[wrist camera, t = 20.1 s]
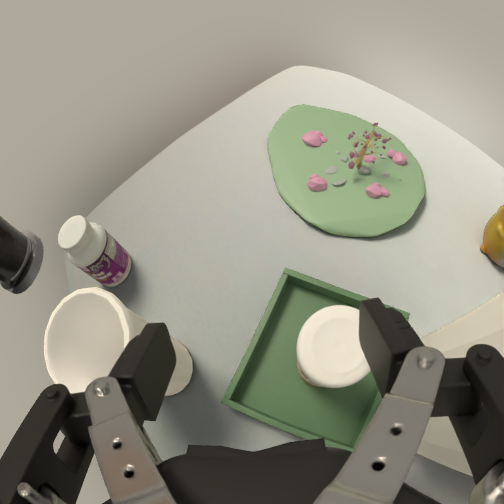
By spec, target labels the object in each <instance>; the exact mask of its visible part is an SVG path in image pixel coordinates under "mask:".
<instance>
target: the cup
mask: <svg viewBox="0 0 504 504" xmlns="http://www.w3.org/2000/svg"><path fill="white" fill-rule="evenodd" d="M146 324H148V322H147V321H145V320H144V319H142V318H141V317H139V316H138V315H136V314H135V313H134V312H132V311H131V310H129V309H128V308H126V307H125V305H124V304H123V303H122V302H121V301H120V300H119V299H118V298H117V297H116V296H115V295H114V294H113V293H111V292H108V291H106V290H103V289H100V288H98V287H91V288H84V289H78V290H76V291H74V292H73V293H71V294H70V295H68V296H67V297H65V298H63V299H62V301H61V302H60V303H59V305H58V306H57V307H56V309H55V310H54V311H53V313H52V314H51V317H50V319H49V322H48V325H47V328H46V331H45V338H44V357H45V361H46V365H47V370H48V373H49V375H50V376H51V378H52V379H53V381H54V383H55V384H63V385H65V386H66V387H67V388H68V390H69V392H70V393H71V394H72V393H79V392H85V390H86V388H87V386H88V385H89V384H90V383H91V382H92V381H94V380H95V379H97V378H100V377H105V376H108V375H109V373H110V371H111V370H112V368H113V366H114V365H115V363H116V361H117V360H118V358H119V357H120V355H121V353H122V352H123V351H124V349H125V347H126V345H127V344H128V342H129V341H131V340H132V339H133V338H134V337H135V336H137V335H140V333H141V332H142V330H143V328H144V327H145V325H146ZM170 338H171V341H172V344H173V347H174V350H175V353H176V366H175V369H174V372H173V374H172V377H171V380H170V382H169V385H168V388H167V391H166V393H165V396H170V395H174V394H176V393H178V392H180V391H182V390H183V389H184V388H185V387H186V386H187V384H188V383H189V382H190V378H191V375H192V372H193V367H192V359H191V356H190V354H189V352H188V350H187V349H186V348H185V347H184V346H183V345H182V344H181V343H180V342H178V341H177V340H175V339H174V338H172V337H170Z"/></svg>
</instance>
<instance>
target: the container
mask: <svg viewBox="0 0 504 504" xmlns="http://www.w3.org/2000/svg"><path fill="white" fill-rule="evenodd" d="M421 341H422V342H423V344H424V345H425V346H427V347H433V348H435V349H437V350H439V351H440V352H441V353H442V354H443V355H444V357H445V358H465V357H466V353H467V351H468V349H469V348H470V347H472V346H473V345H476V344H487V345H490V346H492V347H494V348H496V349H497V350H498V351H499V353H500V354H501V355H502V356H503V358H504V291H503V292H501V293H500V294H498V295H497V296H495V297H494V298H492V299H490V300H489V301H487V302H486V303H484V304H482V305H481V306H479V307H478V308H476V309H474V310H473V311H471V312H469V313H467V314H466V315H464V316H462V317H460V318H459V319H457V320H455V321H453V322H452V323H450V324H448V325H446V326H444V327H442V328H440V329H439V330H437V331H435V332H433V333H431V334H429V335H427V336H425V337H423V338H421ZM417 454H419V455H422V456H424V457H426V458H428V459H431V460H433V461H435V462H437V463H440V464H442V465H445V466H447V467H449V468H452V469H454V470H457V471H459V472H462V473H464V474H467V475H470V476H472V477H473V475H472V472H471V470H470V467H469V465H468V462H467V459H466V457H465V454H464V452H463V449H462V447H461V445H460V442H459V440H458V437H457V435H456V433H455V430H454V428H453V426H452V424H451V421H450V419H449V417H448V416H445V417H430V419H429V422H428V425H427V427H426V430H425V433H424V436H423V438H422V441H421V443H420V446H419V448H418V451H417Z"/></svg>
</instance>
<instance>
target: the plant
mask: <svg viewBox="0 0 504 504" xmlns="http://www.w3.org/2000/svg"><path fill="white" fill-rule="evenodd" d="M377 125H378V123H374V124H372V123H369V122H367V121H365V120H363V119H361V118H358V117H356V116H353V115H350V114H347V113H342V112H338V111H334V110H329V109H324V108H320V107H315V106H309V105H304V104H303V105H297V106H294V107H291V108H290V109H289V110H288V111H286V112H285V113H284V114H283V115H282V117H281V118H280V119H279V120H278V121H277V123H276V124H275V126H274V127H273V129H272V130H271V132H270V134H269V137H268V152H269V157H270V162H271V167H272V171H273V176H274V180H275V183H276V186H277V189H278V191H279V194H280V196H281V197H282V198H283V200H284V201H285V202H286V203H287V204H288V205H289V206H290V207H291V208H292V209H293V210H294V211H295V212H297V213H298V214H299V215H300V216H301V217H302V218H303V219H305V220H306V221H307V222H309V223H311V224H313V225H315V226H317V227H319V228H320V229H322V230H324V231H326V232H329V233H331V234H335V235H341V236H349V237H372V236H378V235H381V234H384V233H386V232H388V231H390V230H393V229H395V228H397V227H399V226H401V225H403V224H405V223H406V222H407V221H408V220H409V219H410V218H411V217H412V215H413V214H414V212H415V210H416V209H417V207H418V205H419V204H420V202H421V200H422V198H423V196H424V195H425V186H424V178H423V172H422V169H421V167H420V165H419V163H418V161H417V160H416V159H415V157H414V156H413V155H412V154H411V153H410V151H409V150H408V149H407V148H406V147H405V145H404V144H403V143H402V142H401V141H400V140H399V139H398V138H397V137H395V136H394V135H392V134H391V133H389V132H387V131H386V130H384V129H382V128H380V127H378V126H377Z"/></svg>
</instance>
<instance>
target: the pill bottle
mask: <svg viewBox="0 0 504 504" xmlns="http://www.w3.org/2000/svg"><path fill="white" fill-rule="evenodd" d="M58 242H59V245H60V246H61V247H62V248H63V249H64V250H65V251H66V252H67V254H68V257H69V259H70V261H71V262H72V263H73V264H74V265H75V266H77V267H78V268H80V269H81V270H82V271H84V272H85V273H87V274H88V275H90V276H91V277H92V278H94V279H96V280H97V281H98V282H100V283H102V284H103V285H105V286H109V287H111V286H116V285H119V284H120V283H121V282H123V281H124V280H125V279H126V277H127V276H128V274H129V272H130V269H131V258H130V255H129V254H128V252H127V251H126V250H125V249H124V248H123V247H122V246H121V245H120V244H119V243H118V242H117V241H116V240H115V239H114V238H113V237H112V236H111V235H110V234H109V233H108V232H107V231H106V230H105V229H104V228H103V227H102V226H100V225H99V224H97V223H93V222H88V221H87V220H86V219H85V218H84V217H83V216H79V215H77V216H73V217H71V218H70V219H68V220H67V221H66V222H65V223H64V225H63V226H62V228H61V230H60V232H59V236H58Z"/></svg>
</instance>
